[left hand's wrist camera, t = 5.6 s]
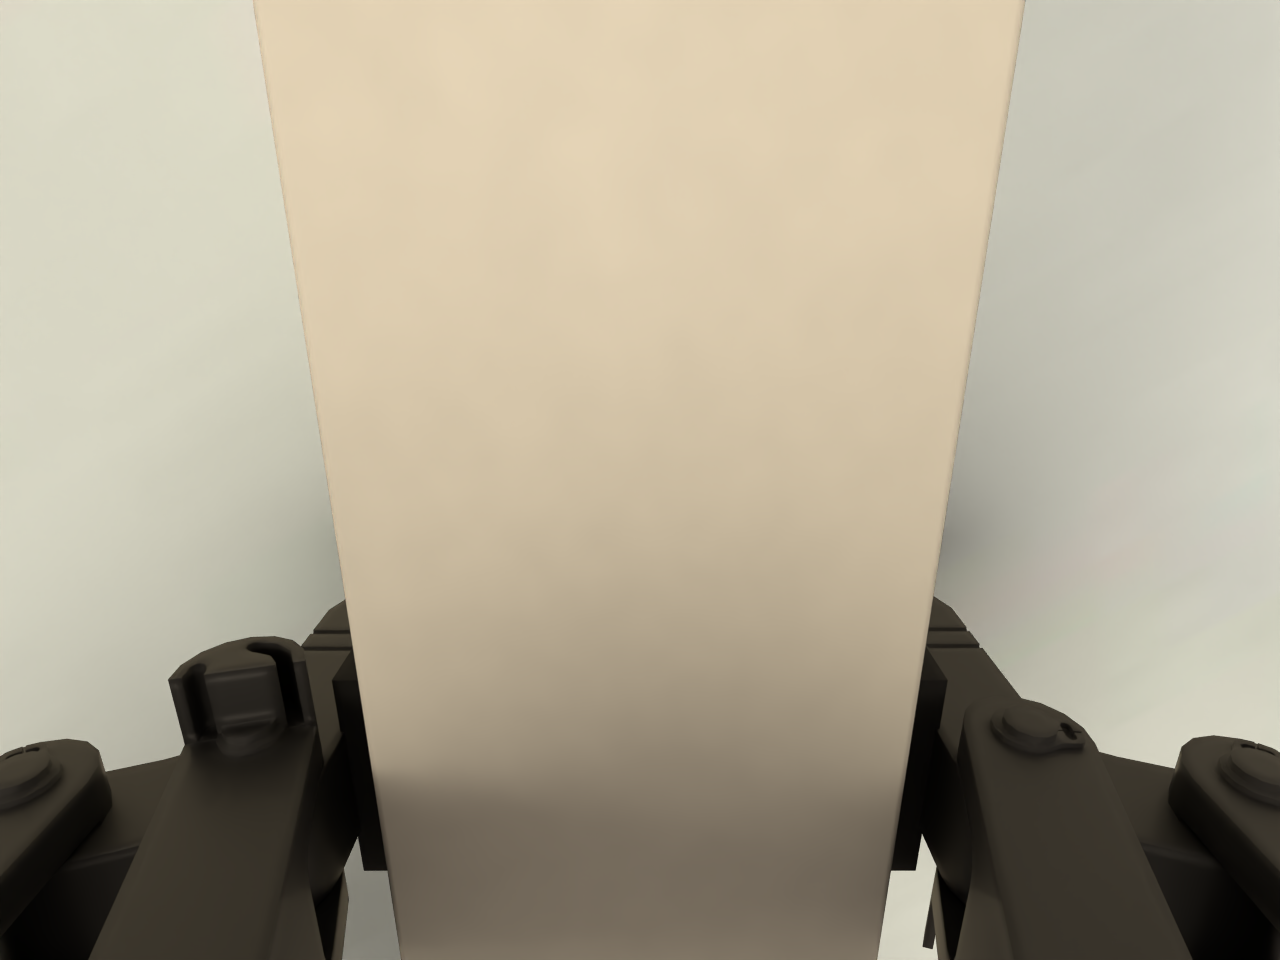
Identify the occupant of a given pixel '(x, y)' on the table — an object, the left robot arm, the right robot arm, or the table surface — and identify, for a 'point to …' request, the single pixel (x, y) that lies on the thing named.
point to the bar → (639, 441)
